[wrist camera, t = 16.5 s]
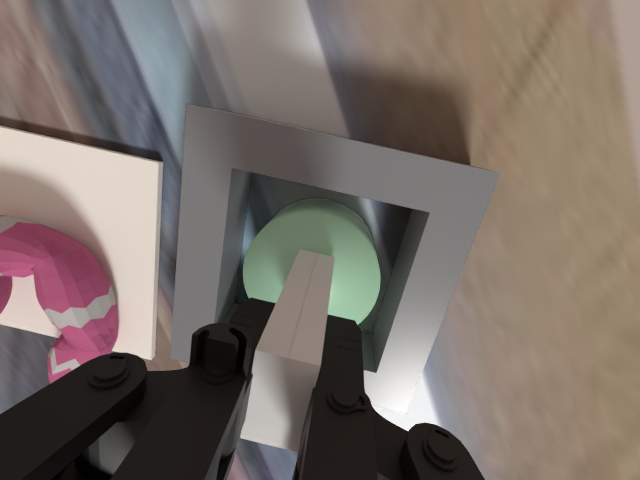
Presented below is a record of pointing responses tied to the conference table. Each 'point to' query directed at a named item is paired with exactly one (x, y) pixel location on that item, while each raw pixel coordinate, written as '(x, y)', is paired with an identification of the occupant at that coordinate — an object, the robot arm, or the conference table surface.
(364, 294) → the button
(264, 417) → the robot arm
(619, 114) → the conference table surface
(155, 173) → the paper sheet
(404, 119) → the conference table surface
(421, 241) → the button housing
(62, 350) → the toy
